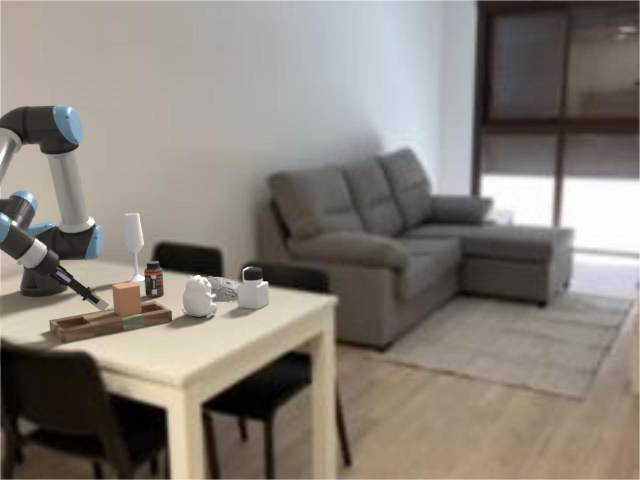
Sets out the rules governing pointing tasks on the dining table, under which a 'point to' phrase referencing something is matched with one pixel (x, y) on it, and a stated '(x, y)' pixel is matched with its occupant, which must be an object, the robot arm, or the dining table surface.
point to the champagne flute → (134, 241)
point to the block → (126, 298)
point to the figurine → (198, 297)
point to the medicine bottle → (253, 289)
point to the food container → (223, 289)
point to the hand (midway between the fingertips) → (105, 307)
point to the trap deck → (107, 322)
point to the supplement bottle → (153, 279)
